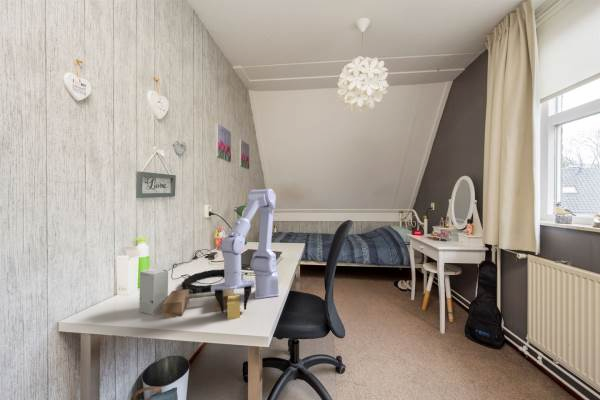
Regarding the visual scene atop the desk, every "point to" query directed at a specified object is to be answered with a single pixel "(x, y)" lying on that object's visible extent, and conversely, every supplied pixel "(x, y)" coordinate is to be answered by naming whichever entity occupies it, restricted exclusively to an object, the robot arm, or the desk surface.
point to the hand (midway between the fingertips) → (233, 309)
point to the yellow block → (233, 307)
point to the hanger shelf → (180, 300)
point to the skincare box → (153, 290)
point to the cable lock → (199, 289)
